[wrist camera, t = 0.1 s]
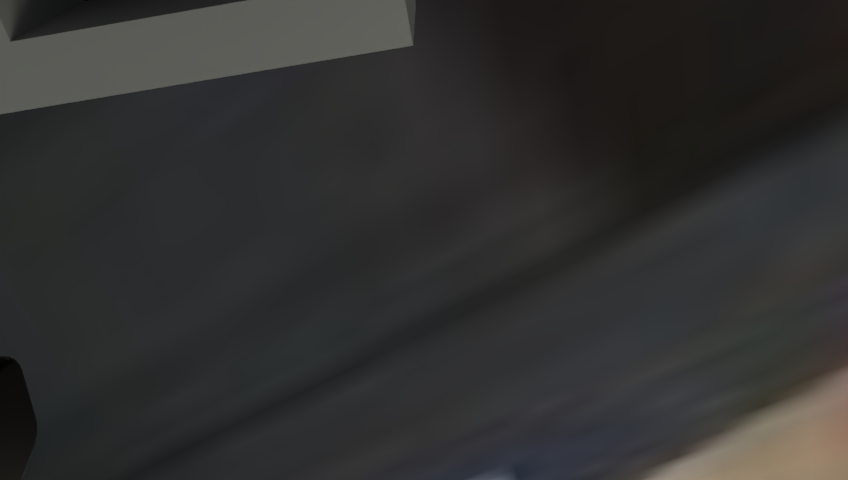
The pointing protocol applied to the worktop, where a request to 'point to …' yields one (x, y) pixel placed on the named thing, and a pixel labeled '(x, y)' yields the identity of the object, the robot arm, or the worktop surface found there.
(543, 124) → the worktop surface
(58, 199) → the worktop surface
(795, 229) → the worktop surface
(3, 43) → the socket block
